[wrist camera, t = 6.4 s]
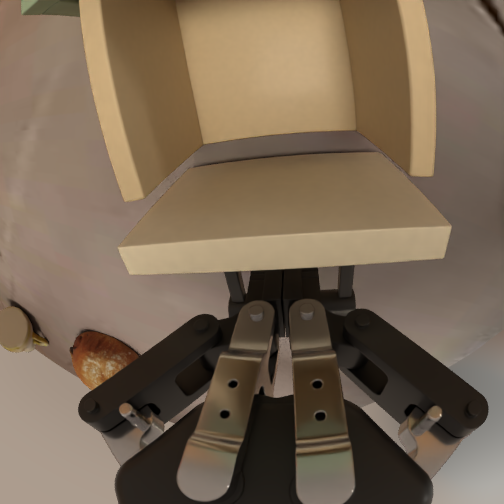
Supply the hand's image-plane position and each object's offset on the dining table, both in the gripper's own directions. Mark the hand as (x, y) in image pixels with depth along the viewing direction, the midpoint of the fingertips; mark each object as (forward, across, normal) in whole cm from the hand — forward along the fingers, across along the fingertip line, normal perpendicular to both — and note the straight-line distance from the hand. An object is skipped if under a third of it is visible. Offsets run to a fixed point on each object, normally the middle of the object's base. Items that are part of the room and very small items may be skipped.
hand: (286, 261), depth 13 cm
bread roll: (+5, -24, -17) cm, 30 cm away
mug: (+5, -42, -15) cm, 44 cm away
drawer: (+4, 0, +7) cm, 8 cm away
